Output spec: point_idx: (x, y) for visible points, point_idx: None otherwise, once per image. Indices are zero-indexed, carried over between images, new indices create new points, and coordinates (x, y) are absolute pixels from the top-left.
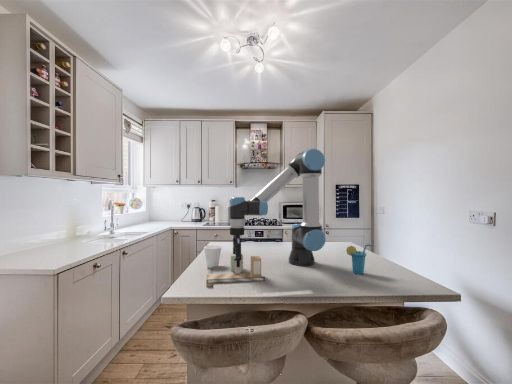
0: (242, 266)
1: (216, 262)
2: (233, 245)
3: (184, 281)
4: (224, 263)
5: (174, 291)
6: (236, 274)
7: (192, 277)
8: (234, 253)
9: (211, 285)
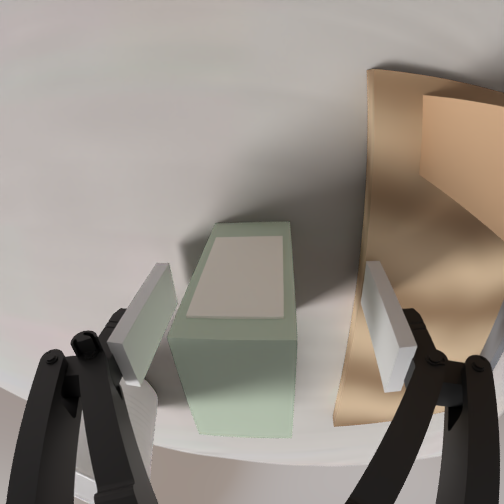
0: (292, 257)
1: (138, 404)
2: (75, 469)
3: (357, 458)
4: (43, 322)
5: (440, 452)
6: None
7: (313, 449)
8: (115, 387)
9: None
